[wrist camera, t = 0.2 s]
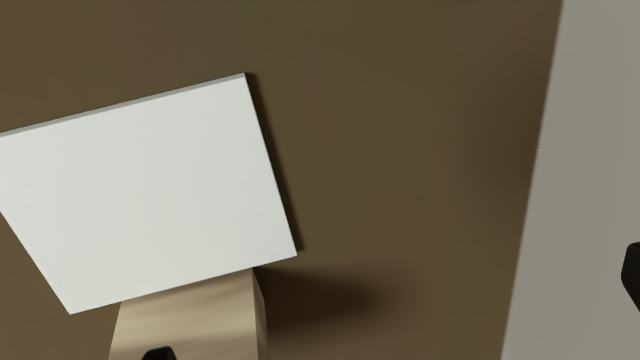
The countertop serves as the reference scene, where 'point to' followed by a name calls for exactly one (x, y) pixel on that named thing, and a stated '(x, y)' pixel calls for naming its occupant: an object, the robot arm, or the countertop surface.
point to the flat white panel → (145, 194)
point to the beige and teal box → (196, 321)
